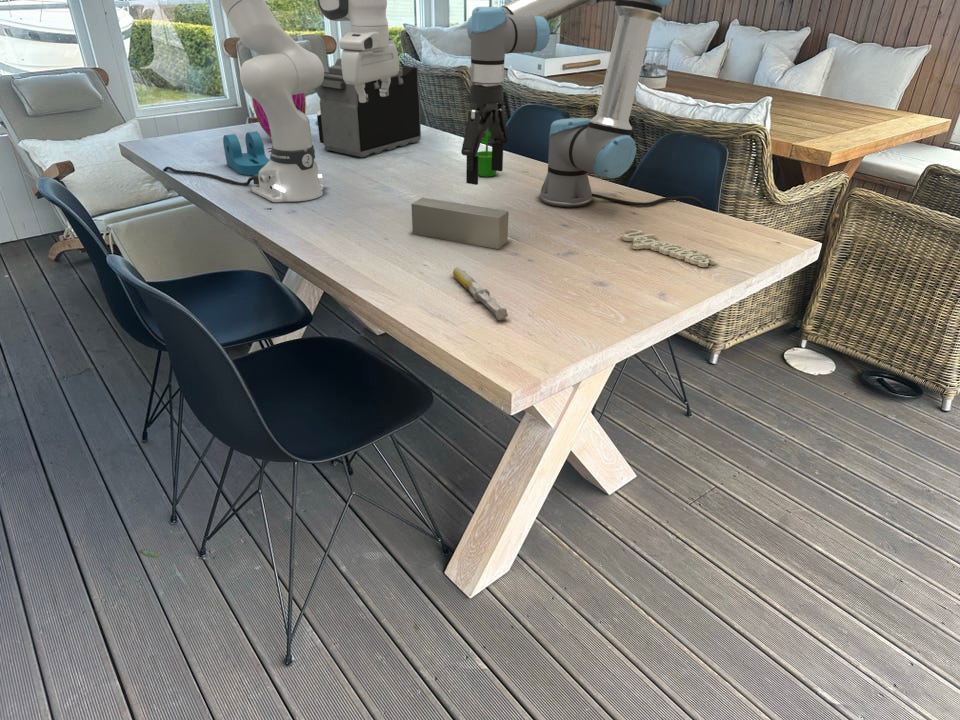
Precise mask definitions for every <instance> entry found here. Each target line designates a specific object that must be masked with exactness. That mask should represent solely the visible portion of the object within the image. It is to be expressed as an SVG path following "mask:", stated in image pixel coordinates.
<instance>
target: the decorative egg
mask: <svg viewBox="0 0 960 720" xmlns="http://www.w3.org/2000/svg"><path fill="white" fill-rule="evenodd" d="M292 99H293V102H294V105H295V107H296V109H297V110H299V111H301V112H303V113H304V114H305V115H306V104H307V103H306V102H307V101H306V99H307V97H306V93H301V94H296V95H292ZM251 101H252V107H253V110H254V114H255V116H256V118H257V121H258V123H259V125H260V127H261V128H262V130H263V131H264V133H266V135H267V136H268V137H270V138H271V132H270V127H269V122H268V119H267V116H266V114H265V112H264V110H263V108H262V107H261V105H260V104H259V103H258V102H257V101H256V100H255V99H254V98H253V97H251Z"/></svg>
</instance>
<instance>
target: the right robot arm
mask: <svg viewBox="0 0 960 720" xmlns="http://www.w3.org/2000/svg"><path fill="white" fill-rule="evenodd" d="M672 1H673V0H512V1H510V2H508V3H506V4H504V5H502V6H476V7H474V8H473V10H472V12H471V15H470V17H469V19H468V22H467V26H466V31H467V32H466V33H467V35H468V38H469V40H470V66H469V70H470V81H471V82H472V83H471V84H470V87H469V88H470V89H469V90H470V91H469V92H470V102H472V103H474V104H475V108H474V109H468V113H467V122H466V123H467V124H466V128H465V132H464V136H463V141H462V146H461V147H462V148H461V150H460V151H461V152H460V153H461V155H462V156H465V157H466V179H465V180H466V184H469V185H475V186H477V185H479V175H478V159H479V156H476V155H477V152H479V149H480V146H481V144H482V143H481V140H482V138H484V133H485V132H486V130H487V128H488V131H489V132H491V137H492V140H493V142H492V143H491V151H492V169H491V170H494V171H496V172H503V171H504V167H503V166H504V144H505V145H507V144H508V142H509V141H508V140H509V139H508V138H509V133H508V129H507V122H506V116H505V108H504V106H505V105H504V86H503V85H504V84H503V83H504V81H505V60H506V59H505V57H506V55H508V54H524V53H525V54H526V53H527V54H528V53H530V54H533V53H537V52H541V51H543V50H545V49H546V48H547V46H548V44H549V42H550V38H551V37H550V35H551V28H550V25H549V23H548V22H550V21H552V20H554V19H556V18H558V17H560V16H562V15H565V14H566V13H569V12H571V11H573V10H575V9H577V8H579V7H581V6H585V7H591V6H594V5H596V4H599V3H604V2H615V5H614V9H615V11H616V13H617V14H618V20H617V23H616V28H615V33H614V36H613V41H612V45H611V51H610V54H609V59H608V64H607V66H606V72H605V76H604V81H603V86H602V90H601V94H600V98H599V103H598V107H597V111H596V115H594V117H593V116H592V118H589V117H573V118H571V117H570V118H562V119H556V120H554V121H553V122H552V123H551V125H550V129H549V130H550V131H549V134H548V156H547V158H548V159H547V173H546V176H545V178H544V181H543V184H542V187H541V189H540V192H539V200H540V202H542V203H543V204H546V205H549V206H553V207H558V208H559V207H560V208H580V207H584V206H588V205H589V204H591V203H592V199H593V198H597V199H601V200H605V201H609V202H613V203H617V204H618V203H619V204H623V205H627V206H628V205H629V206H637V207H648V206H653V205H657V204H659V203H662V202H665V201H681V200H683V201H684V200H689V201H693V202H695V203H697V204H698V205H699V206H704V203H703V202H702V201H701V200H700V199H698V198H697V197H695V196H689V195H683V196H682V195H681V196H665V197H661V198H657V199H656V200H652V201H645V202H644V201H643V202H642V201H641V202H640V201H630V200H629V201H628V200H623V199H619V198H615V197H609V196H606V195H602V194H597V193H594V192H592V188H591V184H590V179H589V173H590V174H593V175H596V176H598V178H606V179H617V178H620V177H622V176H623V175H624V173H626V172H627V171H628V170H629V169H630V168H631V166H632V165H633V162H634V160H635V158H636V154H637V146H636V141H635V140H634V138H633V137H632V132H633V126H632V125H631V123H630V116H631V112H632V108H633V105H634V101H635V96H636V92H637V88H638V83H639V80H640V76H641V71H642V68H643V63H644V60H645V55H646V52H647V47H648V43H649V39H650V35H651V31H652V26H653V23H654V21H656V20H657V19H659V18H660V17H661V16H662V12H663V8H664V6H667V5H668V4H670V3H671V2H672Z"/></svg>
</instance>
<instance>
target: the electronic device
mask: <svg viewBox="0 0 960 720" xmlns="http://www.w3.org/2000/svg"><path fill="white" fill-rule="evenodd" d="M381 85H382V81H381V79H379V80H375V81H371V82H367V83H365V88H364V90H365V93H366V94H368V102H365V103H360V102H359V96H358V94H357V91H356V89H355V85H350V84H346V83H345V81H344V79H343V75H342V65H341V58H337V59H336V60H335V63H334V64H333V65H330V66H329V67H328V72H327V71H324V79H323V82H322V84H321V85H320V86H319V87H317V88H315V89H314V91H315V93H316V94H317V96H318V98H319V111H321V115H319V116H318V117H317V116H316V119H317V120H318V121H317V128H318V138H319V143H320V144H323V146H324V149H325V150H327V151H330V152H335V153H340V154H344V155H348V156H353V157H357V158H362V159H363V158H366V157H367V158H368V157H369V155H371V154H375V155H377V154H381V153H382V152H383V151H391V150H395V149H396V148H397V147H405V146H407V145H408V144H416V143H418V142H419V141H421V137H422V128H421V97H420V92H419V91H420V89H419V68H418V67H417V66H408V65H400V64H399V72H398V75H395V76H391V82H390V85H389V89H388V92H389V95H388V96H386V97H382V96H380V91H379V89H381Z"/></svg>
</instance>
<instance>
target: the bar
mask: <svg viewBox="0 0 960 720" xmlns="http://www.w3.org/2000/svg"><path fill="white" fill-rule="evenodd" d="M410 206H411V229H412V231H411V232H412V234H413V235H417V236H424V237H428V238H433V239H439V240H443V241H450V242H455V243H461V244H467V245H472V246H478V247H484V248H489V249H495V250H499V249H501V248H502V247H503V246H505V245H506V244H507V243H508V241H509V216H510V215H509V210H504V209H498V208H491V207H486V206H479V205H473V204H468V203H467V204H466V203H461V202H453V201H447V200H442V199H441V200H440V199H434V198H430V197H429V198H428V197H421V198H419V199H416V201H414V202H411V205H410Z"/></svg>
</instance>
